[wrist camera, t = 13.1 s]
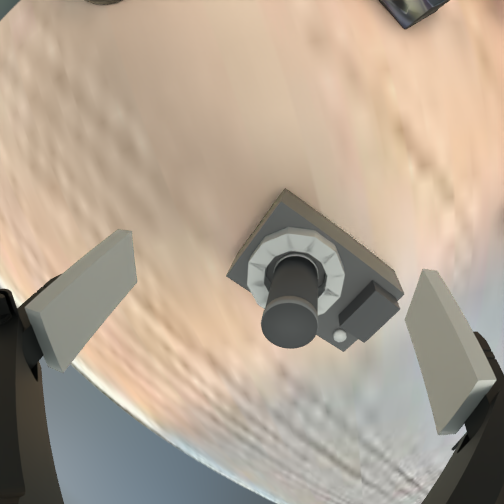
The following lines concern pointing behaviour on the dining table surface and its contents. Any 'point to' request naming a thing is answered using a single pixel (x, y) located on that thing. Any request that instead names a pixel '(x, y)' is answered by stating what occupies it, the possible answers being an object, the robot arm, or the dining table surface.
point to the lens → (292, 302)
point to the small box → (412, 10)
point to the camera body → (321, 271)
